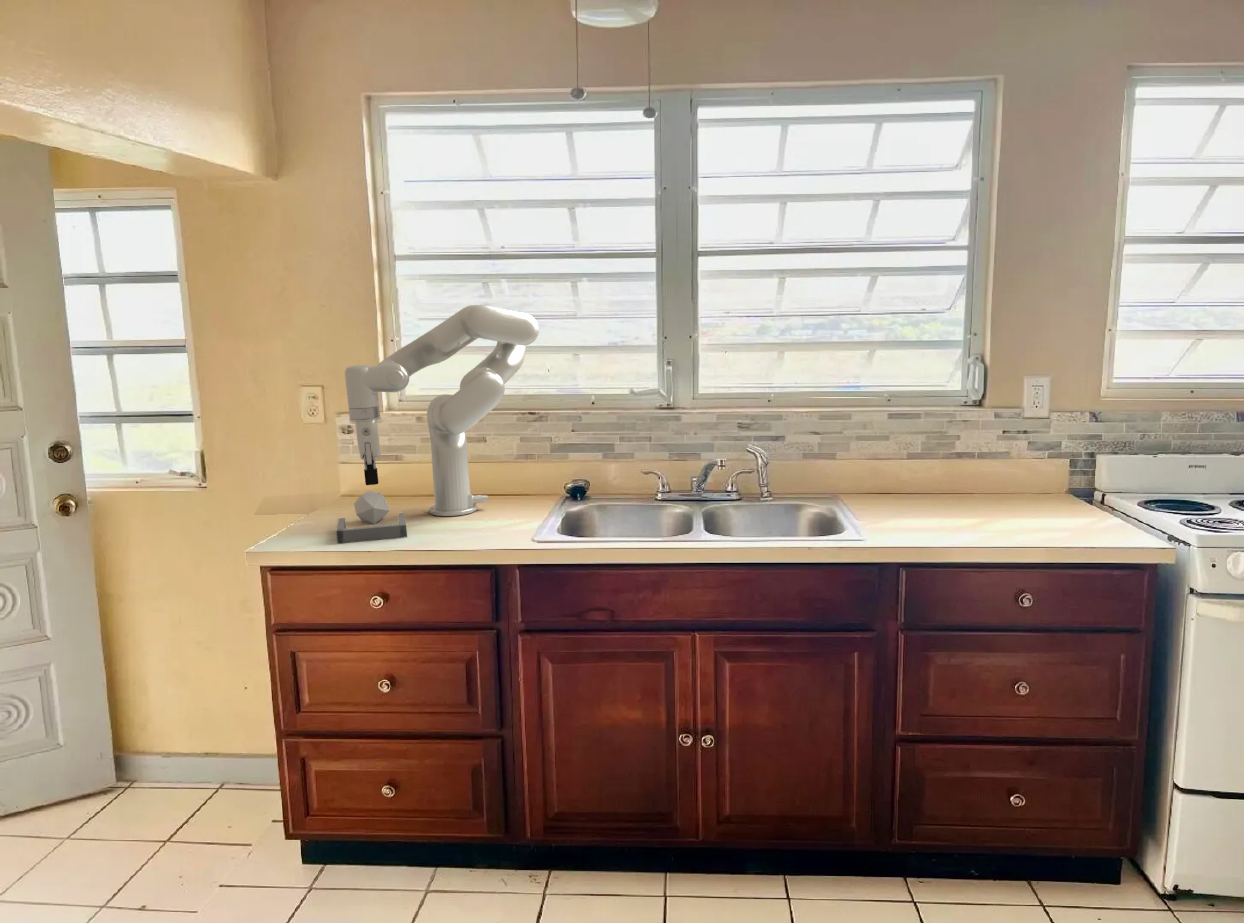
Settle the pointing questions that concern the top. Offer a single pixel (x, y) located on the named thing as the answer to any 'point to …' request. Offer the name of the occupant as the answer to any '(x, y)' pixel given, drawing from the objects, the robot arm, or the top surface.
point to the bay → (371, 531)
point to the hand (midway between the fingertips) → (372, 484)
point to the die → (371, 507)
